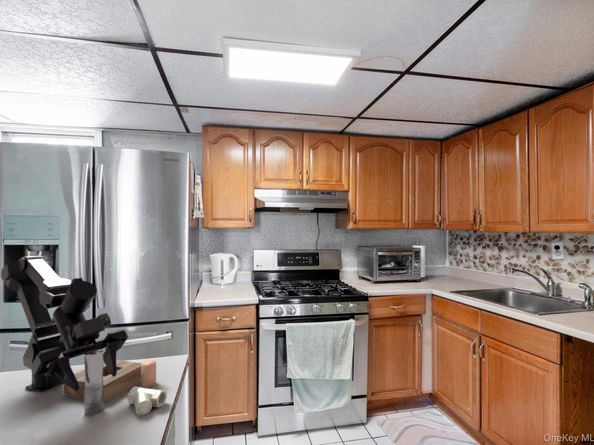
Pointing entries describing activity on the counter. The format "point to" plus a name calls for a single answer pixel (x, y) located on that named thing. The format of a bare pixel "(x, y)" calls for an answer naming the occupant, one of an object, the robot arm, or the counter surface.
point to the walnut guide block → (110, 380)
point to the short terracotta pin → (148, 374)
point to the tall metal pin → (93, 382)
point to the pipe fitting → (146, 399)
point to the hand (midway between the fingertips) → (97, 382)
